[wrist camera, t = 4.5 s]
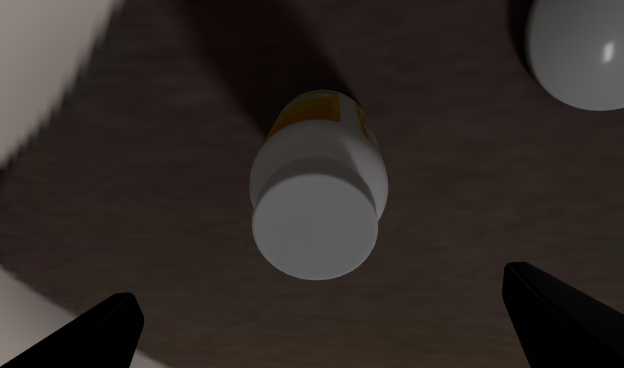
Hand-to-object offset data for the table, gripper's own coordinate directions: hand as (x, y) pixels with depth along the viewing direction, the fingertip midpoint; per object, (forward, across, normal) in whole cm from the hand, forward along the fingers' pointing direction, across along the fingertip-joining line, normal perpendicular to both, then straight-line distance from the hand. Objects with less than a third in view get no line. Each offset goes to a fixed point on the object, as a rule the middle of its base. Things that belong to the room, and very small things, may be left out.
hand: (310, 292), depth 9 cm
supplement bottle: (+13, 0, 0) cm, 13 cm away
